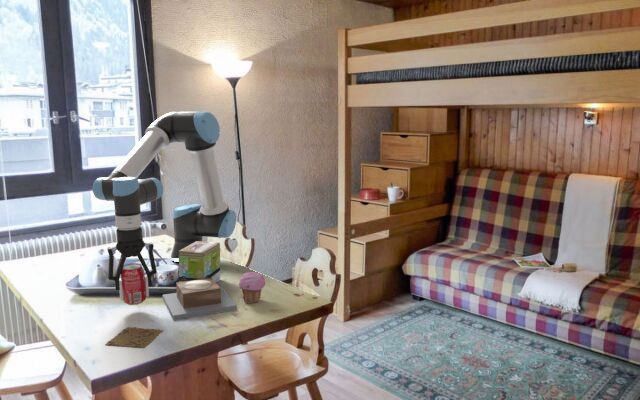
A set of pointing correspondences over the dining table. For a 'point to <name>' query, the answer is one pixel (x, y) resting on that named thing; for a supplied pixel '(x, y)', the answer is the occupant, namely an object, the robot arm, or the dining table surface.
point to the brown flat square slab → (134, 337)
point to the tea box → (199, 261)
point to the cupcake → (251, 286)
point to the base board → (180, 313)
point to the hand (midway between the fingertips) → (134, 297)
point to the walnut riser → (198, 293)
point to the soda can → (133, 284)
